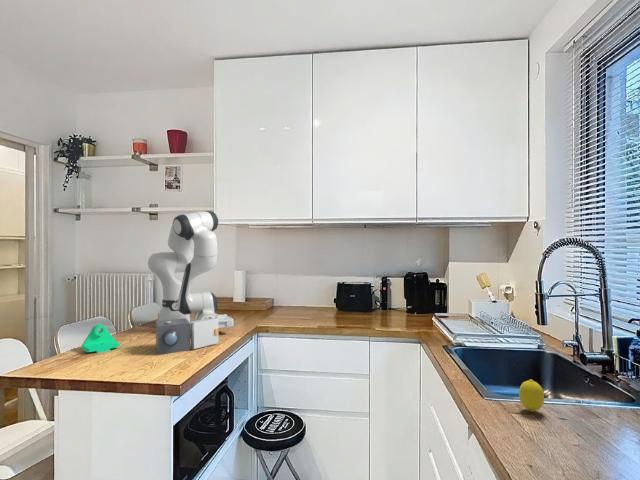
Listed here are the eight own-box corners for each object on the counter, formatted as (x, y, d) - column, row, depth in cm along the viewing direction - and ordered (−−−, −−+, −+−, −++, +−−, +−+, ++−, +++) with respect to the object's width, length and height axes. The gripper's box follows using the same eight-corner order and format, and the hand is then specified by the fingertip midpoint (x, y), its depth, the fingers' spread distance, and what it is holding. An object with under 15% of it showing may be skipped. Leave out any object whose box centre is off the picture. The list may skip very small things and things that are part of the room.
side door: (217, 342, 171) (216, 318, 171) (219, 343, 170) (219, 318, 170) (190, 349, 160) (190, 323, 161) (192, 349, 159) (192, 323, 160)
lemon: (523, 416, 97) (523, 383, 97) (516, 406, 102) (515, 375, 102) (548, 417, 96) (547, 383, 96) (539, 407, 101) (538, 376, 101)
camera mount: (87, 355, 156) (86, 329, 156) (81, 351, 161) (81, 326, 161) (119, 349, 164) (119, 324, 164) (113, 346, 169) (113, 322, 170)
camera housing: (155, 347, 166) (155, 319, 166) (186, 343, 171) (185, 316, 171) (158, 355, 153) (158, 325, 153) (191, 351, 158) (190, 322, 158)
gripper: (185, 317, 186) (190, 322, 174) (229, 313, 195) (236, 318, 183) (185, 331, 186) (190, 337, 174) (229, 326, 195) (236, 332, 183)
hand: (214, 327), depth 178 cm, fingers closed
